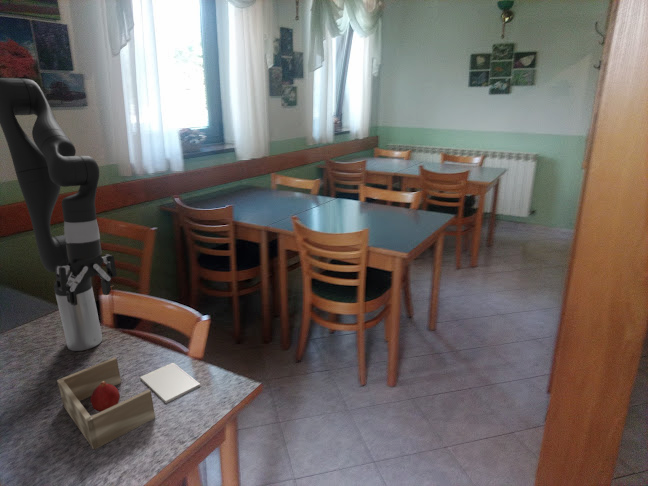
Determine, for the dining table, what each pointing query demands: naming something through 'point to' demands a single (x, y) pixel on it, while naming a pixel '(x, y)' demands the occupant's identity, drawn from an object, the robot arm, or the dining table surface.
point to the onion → (104, 396)
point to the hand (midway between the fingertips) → (90, 299)
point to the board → (169, 382)
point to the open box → (112, 419)
